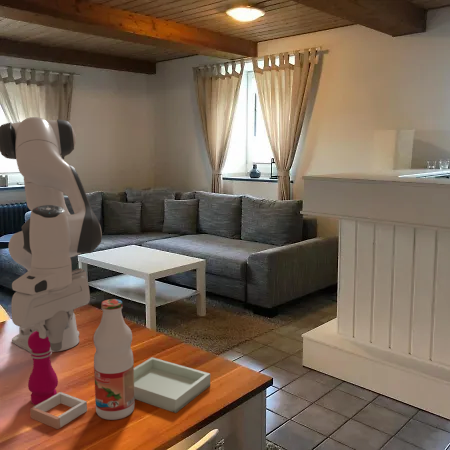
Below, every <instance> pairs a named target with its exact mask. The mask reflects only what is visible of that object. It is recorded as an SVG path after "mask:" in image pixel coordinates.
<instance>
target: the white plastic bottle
mask: <svg viewBox="0 0 450 450" xmlns="http://www.w3.org/2000/svg"><path fill="white" fill-rule="evenodd" d="M100 306H101V307H100V308H101V311H102V315H101V319H100V323H99V325H98V327H97V328H96V329H95V331H94V334H93V344H94V347H95V353H94V356H93V371H94V372H93V374H94V375H93V376H94V393H95V394H94V396H95V398H94V400H95V412H96V414H97V416H98V417H99V418H101V419H104V420H108V421H110V420H111V421H113V420H114V421H115V420H121V419H125V418H126V417H128V416H130V415H131V414H132V413H133V411H134V409H135V404H136V403H135V401H136V399H134V368H135V365H134V360H135V359H134V353H133V350H132V347H131V345H132V343H133V342H132V341H133V333H132V332H133V331H132V330H131V328H130V326H128V325H127V324H126V322H125V320H124V317H123V313H122V309H123V301H122V300H121V299H117V298H110V299H106V300H102V301H101V305H100Z"/></svg>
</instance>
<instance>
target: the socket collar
mask: <svg viewBox="0 0 450 450" xmlns="http://www.w3.org/2000/svg"><path fill="white" fill-rule="evenodd" d="M61 404H62V405H64V406H67V407H70V408H69V409H68V410H66V411H65V412H63V413H61V414H60V415H58V416H57V415H53V414H51V413H49V412H48V411H50V410H51V409H53V408H55V407H57V406H58V405H61ZM29 411H30V412H29V413H30V418H31V419H32V420H35V421H36V422H40V423H41V424H44V425H46V426H49V427H52V428H54V429H55V430H59V429H61V428H62V427H63V426H66V425H67V424H69V423H70V422H72V421H73V420H75V419H76V418H78V417H80V416H81V415H83V414H85V413H86V412H87V411H88V403H87V400H84V399H81V398H78V397H75V396H73V395H70V394H67V393H65V392H62V391H60V392H58V393H57V394H56V395H54V396H52V397H50V398H48V399H47V400H45V401H43V402H41V403H39V404H37V405H33V406H32V407H30V409H29Z"/></svg>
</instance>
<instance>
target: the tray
mask: <svg viewBox="0 0 450 450" xmlns="http://www.w3.org/2000/svg"><path fill="white" fill-rule="evenodd" d="M210 386H211V373H209V372H207V371H202V370H199V369H195V368H192V367H187V366H186V365H181V364H177V363H174V362H170V361H167V360H164V359H163V360H162V359H160V358H157V357H154V356H152V357H149V358H147V360H145V361H143V362H142V363H140V364H138V365H136V366H134V400H135V401H136V400H137V401H140V402H143V403H145V404H148V405H151V406H154V407H156V408H160V409H163V410H166V411H169V412H172V413H175V414H177V413H178V412H179V411H180V410H182V409H183V408H184V407H186V406H187V405H188V404H190V403H191V401H194V400H195V398H197V397H198V396H199V395H200V394H202V393H203V392H204V391H205V390H207V389H208V388H209V387H210Z"/></svg>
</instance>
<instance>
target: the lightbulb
mask: <svg viewBox="0 0 450 450" xmlns="http://www.w3.org/2000/svg"><path fill="white" fill-rule="evenodd" d="M67 323H68V314H67V312H65V311H59V312H57V313H56V314H55V315H54V316H53V317H52V318H50V319H47V320H45V325H43V326H44V328H45V329H47V330H49V337H48V338H49V342H50V347H51V350H52V351H55V352H56V353H57V352H60V351H59V350H60V349H61V348H62V340H63V333H64V330H65V328H66V326H67ZM55 352H54V353H55Z"/></svg>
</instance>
